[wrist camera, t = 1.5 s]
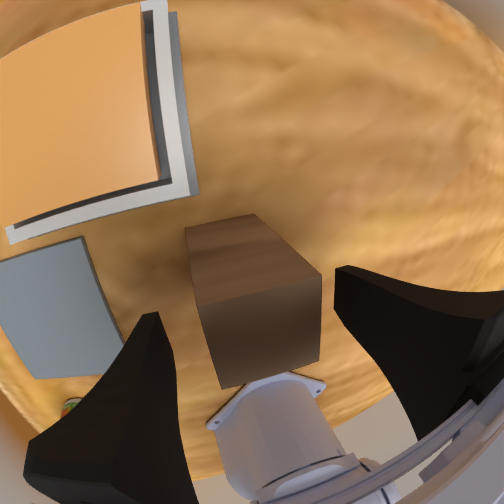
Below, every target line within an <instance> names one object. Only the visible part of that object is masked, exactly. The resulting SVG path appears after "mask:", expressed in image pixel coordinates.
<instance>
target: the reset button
mask: <svg viewBox="0 0 504 504" xmlns="http://www.w3.org/2000/svg"><path fill="white" fill-rule="evenodd" d="M161 175H162V174H161V169H160V163H159V157H158V151H157V144H156V137H155V131H154V123H153V116H152V108H151V100H150V91H149V81H148V70H147V58H146V43H145V23H144V18H143V14H142V9H141V4H140V2H139V3H135V4H130V5H126V6H122V7H118V8H115V9H111V10H108V11H104V12H101V13H98V14H95V15H92V16H89V17H86V18H83V19H81V20H78V21H75V22H73V23H70V24H68V25H65V26H63V27H61V28H58V29H56V30H54V31H52V32H49V33H47V34H45V35H43V36H41V37H39V38H37V39H35V40H33V41H31V42H29V43H27V44H25V45H24V46H22V47H20V48H18V49H17V50H15V51H13V52H11V53H10V54H8V55H7V56H5V57H3V58H2V59H0V226H1V229H3V228H5V227H8V226H10V225H13V224H15V223H18V222H20V221H23V220H26V219H28V218H31V217H34V216H36V215H39V214H42V213H45V212H48V211H51V210H54V209H56V208H59V207H63V206H66V205H69V204H72V203H75V202H78V201H82V200H85V199H88V198H92V197H95V196H99V195H102V194H106V193H109V192H113V191H117V190H121V189H124V188H128V187H132V186H136V185H140V184H145V183H149V182H153V181H158V180H159V178H160V177H161Z"/></svg>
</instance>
